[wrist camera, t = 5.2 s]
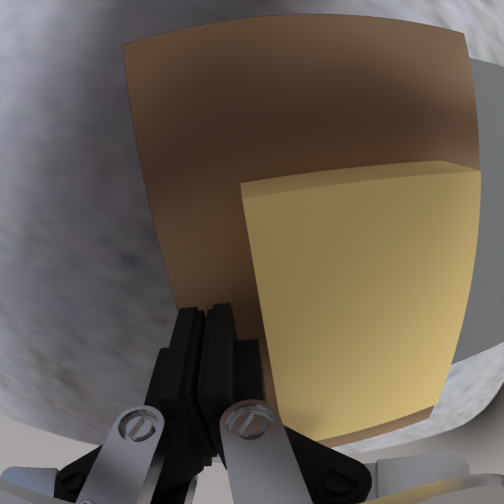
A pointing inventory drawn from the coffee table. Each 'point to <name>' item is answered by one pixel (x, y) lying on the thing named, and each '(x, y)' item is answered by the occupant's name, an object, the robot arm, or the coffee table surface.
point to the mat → (487, 219)
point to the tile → (362, 287)
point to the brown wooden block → (283, 134)
